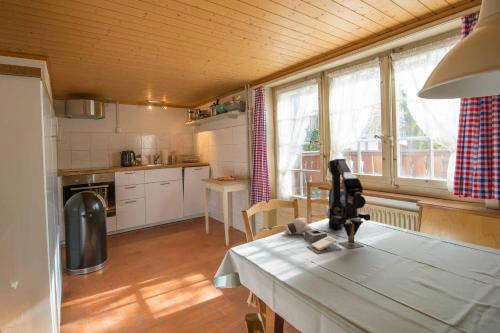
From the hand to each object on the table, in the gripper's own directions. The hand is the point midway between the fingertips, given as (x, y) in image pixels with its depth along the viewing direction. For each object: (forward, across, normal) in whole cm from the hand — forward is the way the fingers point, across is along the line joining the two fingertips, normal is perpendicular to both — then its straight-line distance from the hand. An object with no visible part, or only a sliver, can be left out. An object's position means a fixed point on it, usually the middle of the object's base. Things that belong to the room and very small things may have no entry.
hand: (351, 235), depth 123 cm
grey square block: (+4, +11, -13) cm, 18 cm away
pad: (+4, 0, 0) cm, 5 cm away
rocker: (+2, +14, -2) cm, 14 cm away
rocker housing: (+4, +14, -2) cm, 15 cm away
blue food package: (+5, -20, -32) cm, 38 cm away
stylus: (+3, 0, 0) cm, 3 cm away
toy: (+5, +15, -24) cm, 29 cm away
